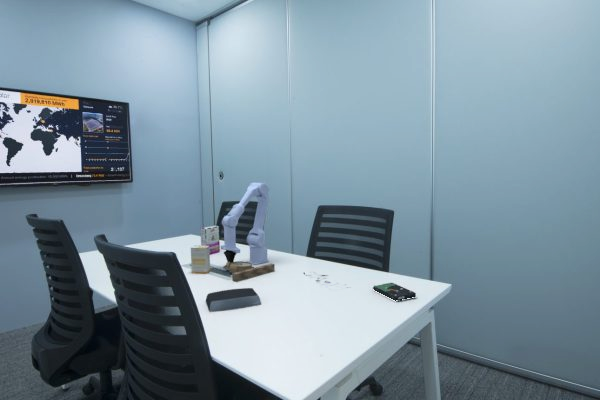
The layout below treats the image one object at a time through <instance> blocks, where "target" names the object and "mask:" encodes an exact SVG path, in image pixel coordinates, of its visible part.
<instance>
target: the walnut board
mask: <svg viewBox="0 0 600 400" xmlns="http://www.w3.org/2000/svg"><path fill="white" fill-rule="evenodd" d="M275 268H276V267H275V264H274V263H268V264H264V265H259V266H254V268H251V269H248V270H244V271H240V272H236V273H231V274H232V275H231V277H232V282H234V283H235V282H236V283H237V282H241V281H244V280H248V279H251V278H255V277H258V276H262V275H266V274H270V273H272V272H276V271H275Z"/></svg>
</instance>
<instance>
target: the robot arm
mask: <svg viewBox="0 0 600 400" xmlns="http://www.w3.org/2000/svg"><path fill="white" fill-rule="evenodd" d="M269 190H270V188H269V185H267V183H266V182H251V183H250V184H249V186H247V190H246V192H245V193H244V195H243V196H242V198H241V199H240V201H239V203H235V204H233V206H232V207H231V210H229V212H228V213H227V215H225V216H224V217H223V218H222V220H221V225H222V226H223V230H224V231H223V235H224V237H223V238H224V244H221V245H220V250H223V254H224V256H225V258H226V261H227V262H230V263H231V262H235V257H236V256H237V254H241V248H239V247H237V246H236V245H237V244H236V243H237V242H236V240H237V239H236V235H237V234H236V232H237V231H236V227H237V225H238V224H239V218H241V216H242V215H243V213H244V212H245V208H246V206H247V205H248V203H249V202H250V201H252V199H253V198H254V197H255V198H256V199H257V206H256V211H255V217H254V222H253V227H252V228H251V230H249V232H248V235H247V237H246V243H247V244H248V247H249V260H247V261H246V262H250V263H252V265H259V264H263V263H264V264H265V263H267V262H268V263H269V260H268V249H267V246H266V245H265V244H266V232H265V231H264V226H265V222H266V221H265V220H266V214H267V211H268V204H269V200H270V198H269ZM227 262H226V263H227Z"/></svg>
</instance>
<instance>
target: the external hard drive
mask: <svg viewBox="0 0 600 400" xmlns="http://www.w3.org/2000/svg"><path fill="white" fill-rule="evenodd" d="M205 303H206V306H207V309H208V311H209V313H214V312H223V311H232V310H239V309H245V308H249V307H250V308H251V307H255V306H256V307H257V306H261V305H262V302H261V298H260V296H259V295H258V293H257V292H256V290H254V288H252V287H243V288H233V289H224V290H219V291H213V292H209V293H208V294H206V298H205Z"/></svg>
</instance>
